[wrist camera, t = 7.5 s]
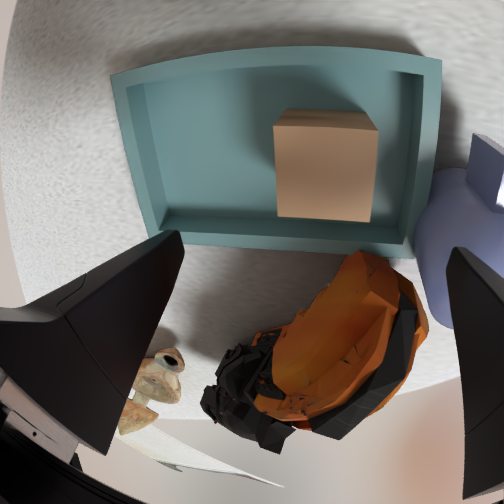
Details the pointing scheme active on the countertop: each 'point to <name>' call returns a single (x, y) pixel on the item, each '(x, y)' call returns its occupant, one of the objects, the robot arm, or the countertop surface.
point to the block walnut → (325, 164)
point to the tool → (323, 359)
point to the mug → (461, 221)
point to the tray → (262, 143)
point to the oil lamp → (152, 389)
